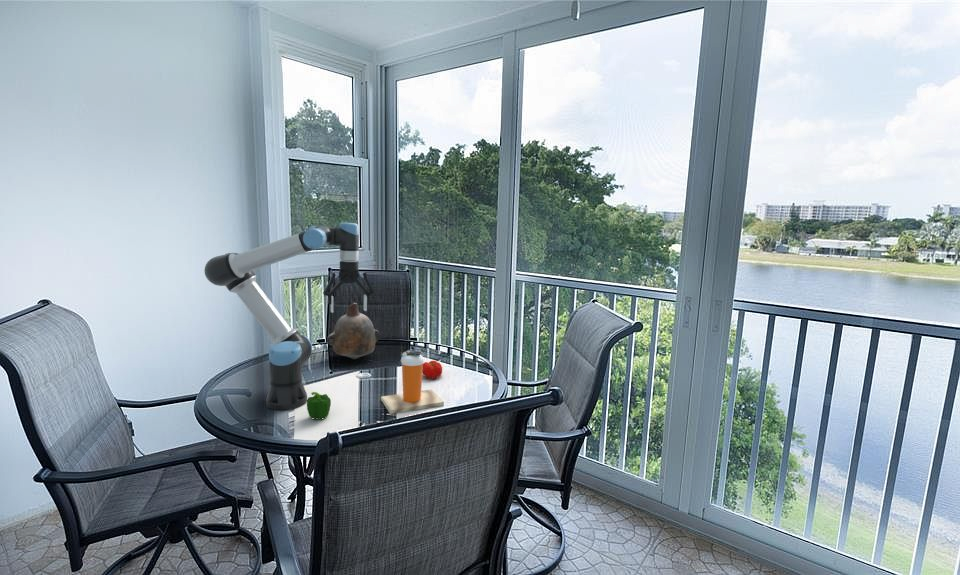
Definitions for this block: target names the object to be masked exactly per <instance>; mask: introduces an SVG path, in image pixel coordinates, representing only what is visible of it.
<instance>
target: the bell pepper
mask: <svg viewBox="0 0 960 575" xmlns="http://www.w3.org/2000/svg"><path fill="white" fill-rule="evenodd" d="M310 395H312V396H309V397H308V396H307V402H306V409H307V413H308V417H310V419H312V418H314V419H313V420H323V419H322V418H324V419H326V418H328V416H329V414H330V411H331V410H330V409H331V405H332V401H331V400H332V399H331V398H330V397H329V395H328V394H327V393H325V394H320V393H319V392H317V391H312V392H311V394H310ZM325 417H326V418H325ZM316 418H318V419H316Z"/></svg>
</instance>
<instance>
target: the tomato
mask: <svg viewBox="0 0 960 575" xmlns="http://www.w3.org/2000/svg"><path fill="white" fill-rule="evenodd" d="M442 373H443V366H442V364H441V363H440V362H438V361H436V360H430V361H429V362H428V361H424V363H423V371H422V376H423V377H425V378H427V379H438V378H439V377H441V375H442Z"/></svg>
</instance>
